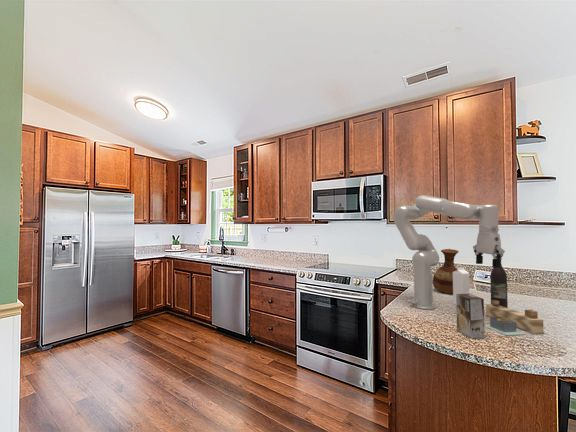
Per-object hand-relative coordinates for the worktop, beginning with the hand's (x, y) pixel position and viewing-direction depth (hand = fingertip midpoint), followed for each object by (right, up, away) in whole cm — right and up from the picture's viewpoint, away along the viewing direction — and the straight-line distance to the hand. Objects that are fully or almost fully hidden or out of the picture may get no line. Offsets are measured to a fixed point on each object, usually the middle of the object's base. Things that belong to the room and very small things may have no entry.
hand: (487, 265), depth 135 cm
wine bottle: (+15, -28, +12) cm, 34 cm away
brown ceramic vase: (+16, -29, +60) cm, 69 cm away
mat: (-1, -27, -11) cm, 29 cm away
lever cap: (-1, -26, -11) cm, 28 cm away
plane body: (+9, -27, -3) cm, 29 cm away
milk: (+5, -28, +28) cm, 40 cm away
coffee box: (-18, -27, -15) cm, 36 cm away
